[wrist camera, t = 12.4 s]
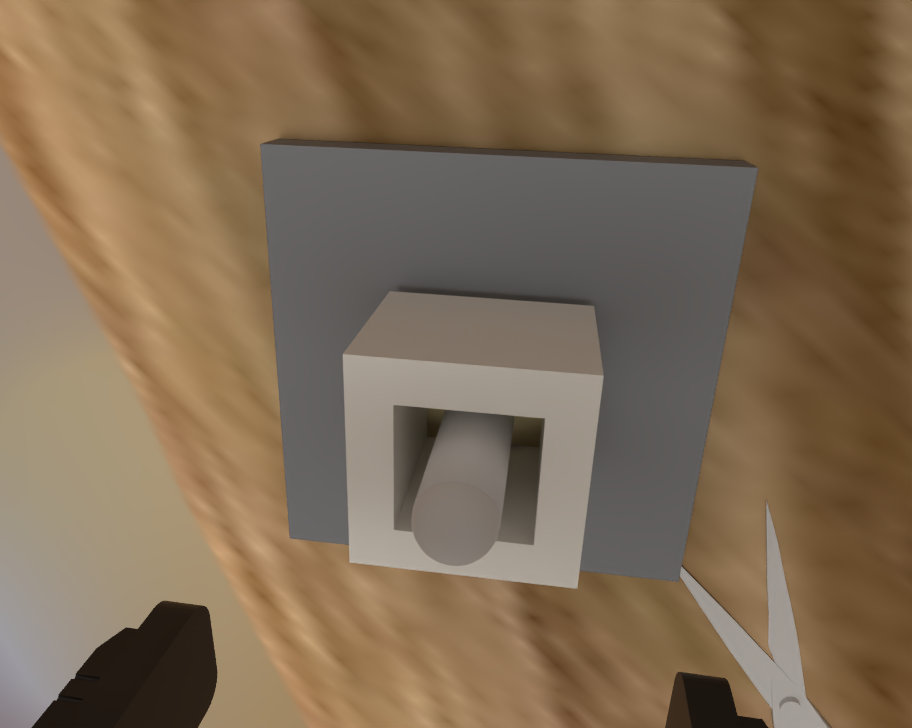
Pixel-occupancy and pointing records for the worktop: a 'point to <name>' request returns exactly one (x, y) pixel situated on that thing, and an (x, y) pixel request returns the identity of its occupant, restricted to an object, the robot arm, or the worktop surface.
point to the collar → (484, 391)
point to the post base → (512, 278)
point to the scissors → (776, 680)
